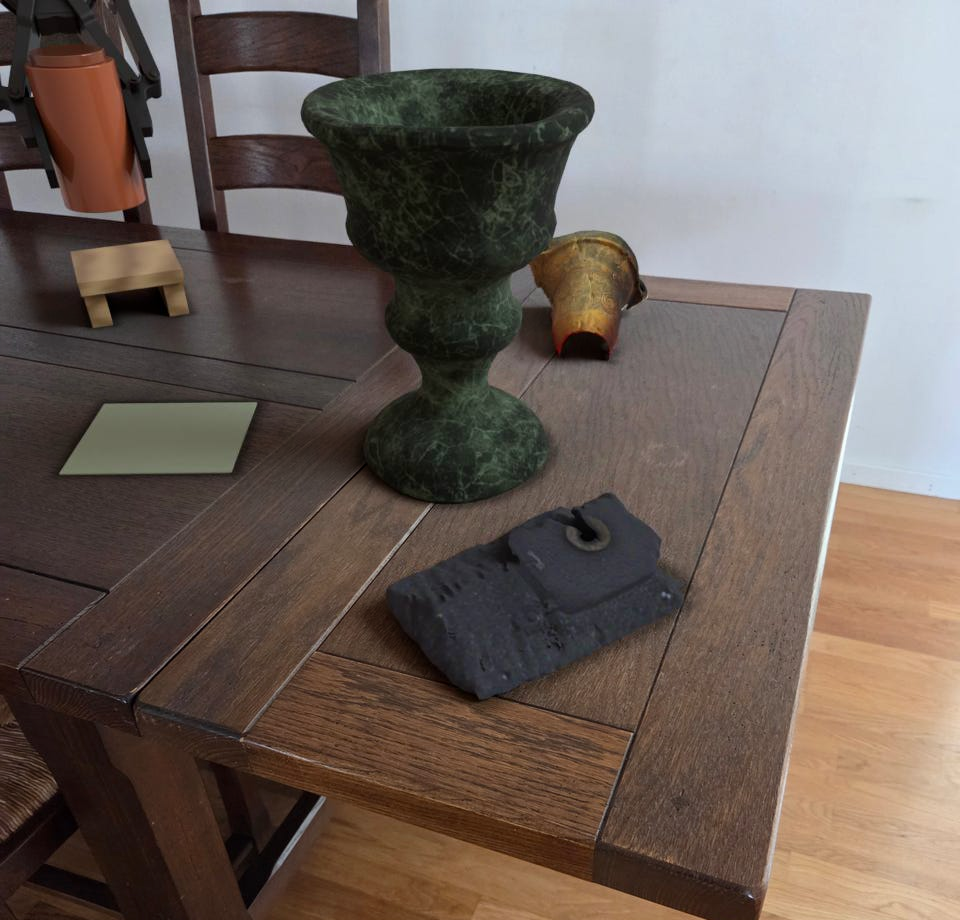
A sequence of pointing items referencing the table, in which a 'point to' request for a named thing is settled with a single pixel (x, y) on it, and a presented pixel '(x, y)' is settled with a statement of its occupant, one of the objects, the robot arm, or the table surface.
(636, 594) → the grey block with grommet
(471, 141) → the goblet
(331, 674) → the table surface
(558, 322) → the pot
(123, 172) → the canister
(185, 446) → the mat
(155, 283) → the stand
